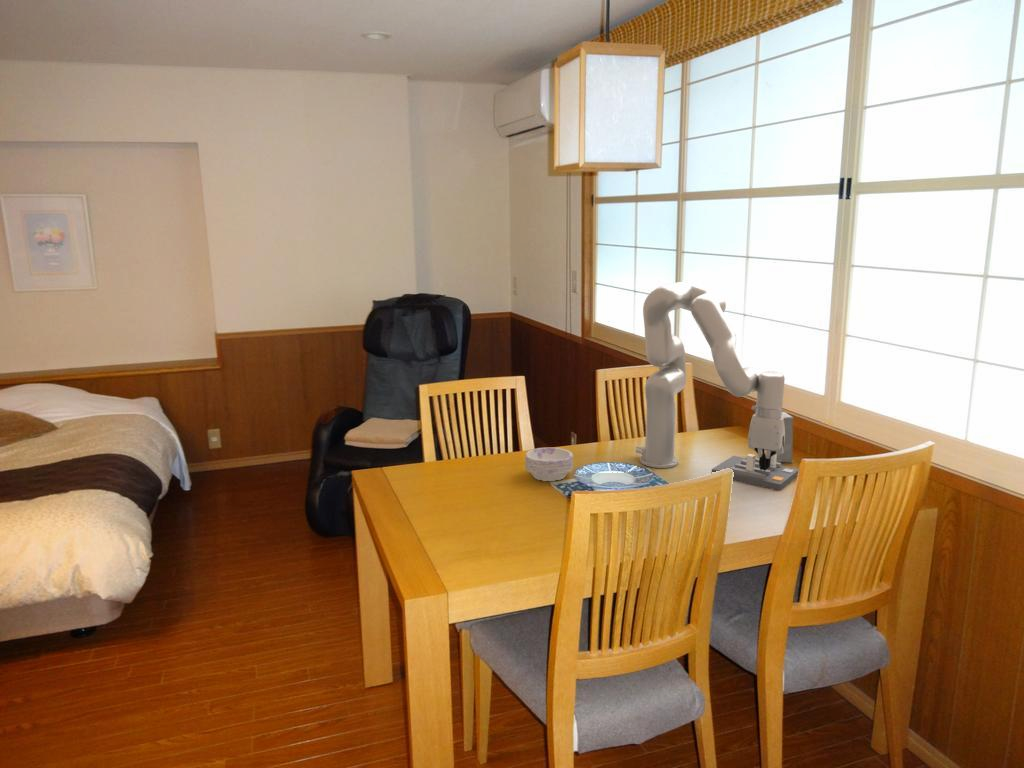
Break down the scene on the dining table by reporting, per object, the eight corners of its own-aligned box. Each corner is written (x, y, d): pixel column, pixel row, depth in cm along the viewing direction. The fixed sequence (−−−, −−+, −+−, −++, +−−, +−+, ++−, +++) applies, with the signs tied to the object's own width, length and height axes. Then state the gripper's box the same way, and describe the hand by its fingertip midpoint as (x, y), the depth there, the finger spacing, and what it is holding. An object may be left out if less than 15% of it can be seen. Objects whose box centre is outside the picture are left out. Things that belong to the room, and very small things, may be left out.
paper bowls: (552, 465, 247) (552, 443, 245) (582, 478, 235) (583, 454, 233) (515, 475, 238) (515, 452, 237) (545, 489, 226) (545, 464, 225)
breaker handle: (767, 467, 237) (768, 450, 236) (769, 465, 239) (770, 448, 238) (773, 468, 236) (774, 451, 235) (775, 466, 238) (777, 450, 236)
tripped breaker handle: (745, 472, 233) (746, 455, 231) (748, 470, 234) (749, 453, 233) (751, 473, 232) (753, 456, 230) (754, 471, 233) (755, 455, 232)
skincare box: (792, 463, 248) (796, 417, 244) (771, 463, 248) (774, 417, 244) (784, 455, 256) (787, 410, 252) (763, 455, 256) (766, 410, 252)
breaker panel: (711, 475, 237) (711, 465, 236) (733, 461, 250) (733, 452, 249) (779, 490, 224) (780, 480, 223) (798, 475, 236) (799, 465, 236)
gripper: (740, 410, 227) (736, 467, 231) (789, 419, 218) (784, 477, 222) (749, 405, 233) (745, 460, 237) (797, 413, 224) (792, 471, 228)
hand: (764, 468), depth 230 cm, fingers closed
